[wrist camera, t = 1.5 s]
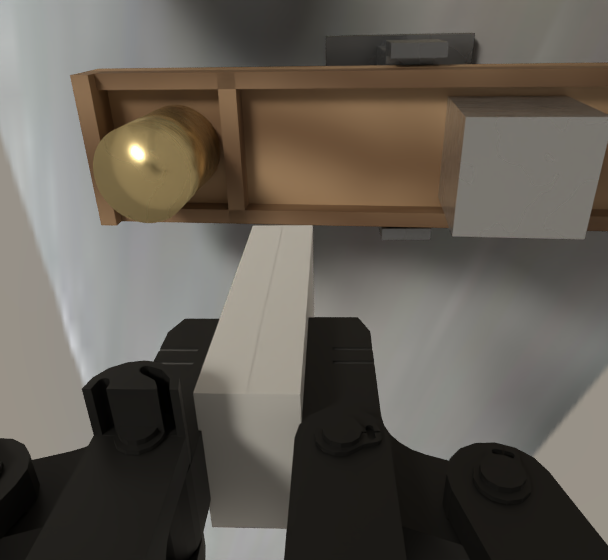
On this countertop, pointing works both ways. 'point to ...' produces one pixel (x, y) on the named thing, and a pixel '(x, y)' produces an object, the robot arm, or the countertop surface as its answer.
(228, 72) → the wooden tray
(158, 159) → the cylinder
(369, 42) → the fulcrum
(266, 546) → the countertop surface
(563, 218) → the block
